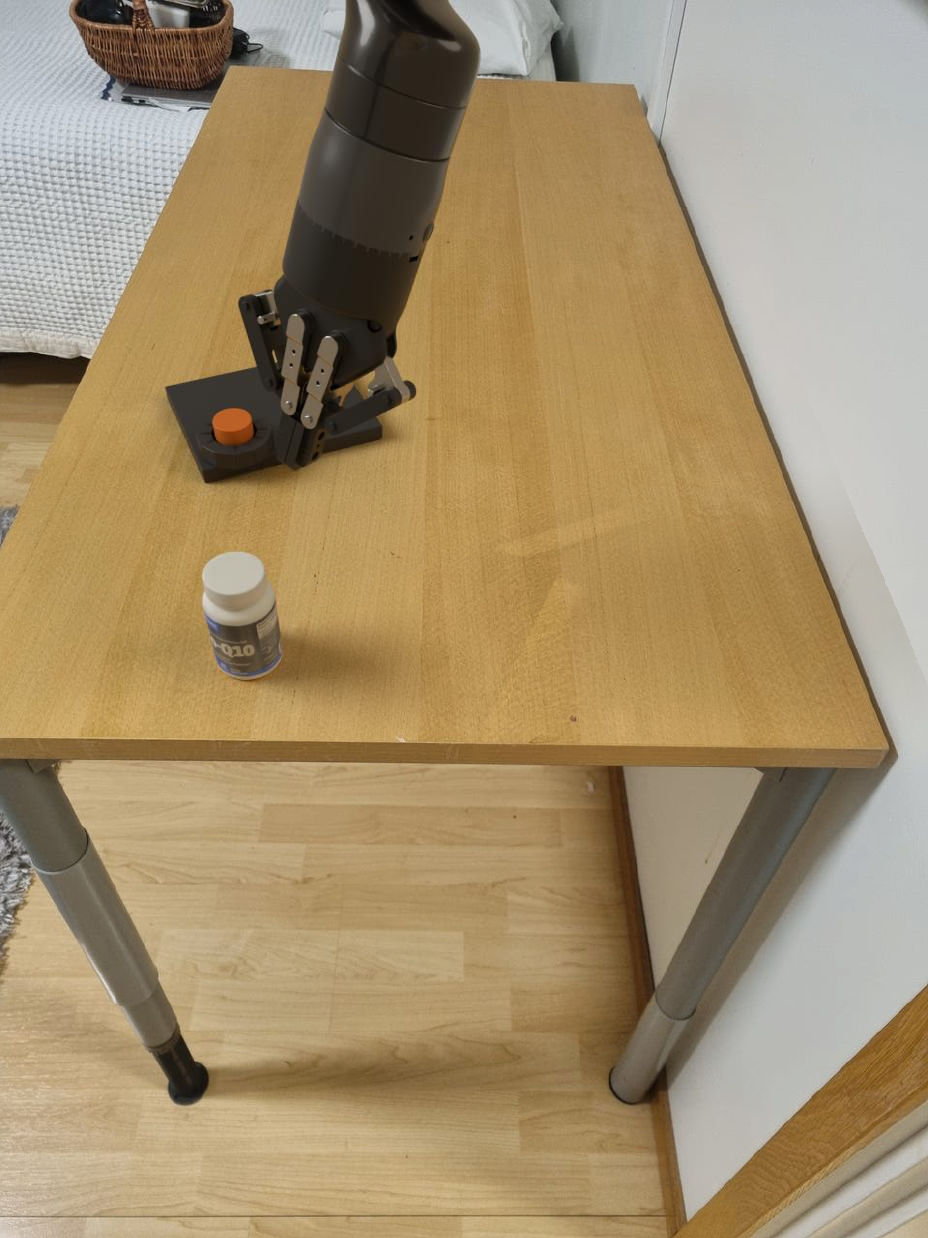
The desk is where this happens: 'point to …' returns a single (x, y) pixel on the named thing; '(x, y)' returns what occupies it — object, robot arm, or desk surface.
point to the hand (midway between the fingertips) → (294, 461)
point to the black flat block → (246, 392)
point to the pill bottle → (241, 615)
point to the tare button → (233, 426)
